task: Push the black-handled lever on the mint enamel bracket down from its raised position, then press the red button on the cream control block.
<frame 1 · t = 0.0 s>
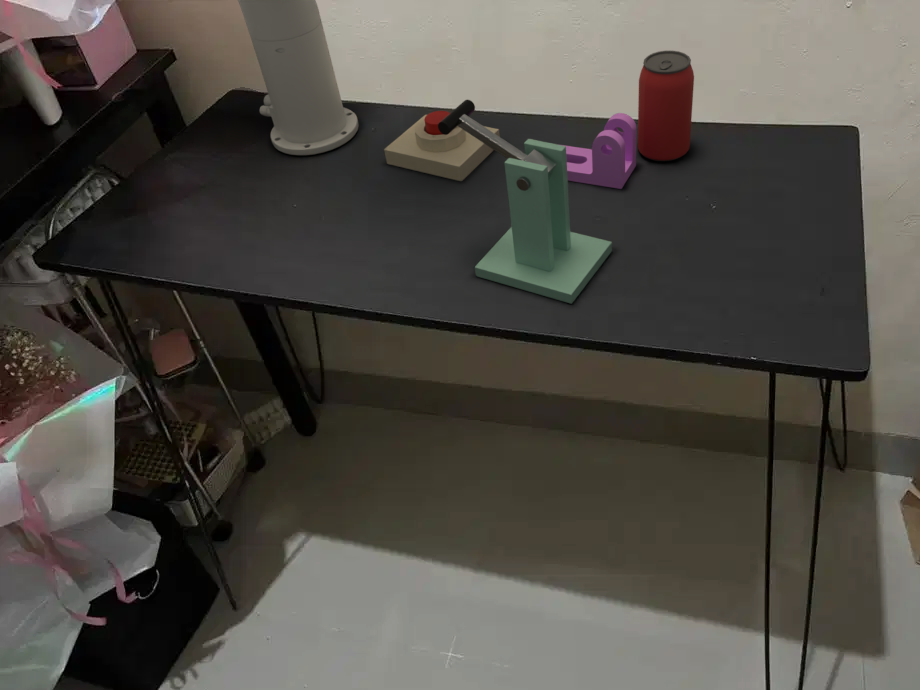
lever: (499, 145, 86), point 14 cm above the table, hinge at 25.0°
bracket: (544, 263, 94), on the table
beer can: (663, 151, 108), on the table
control block: (444, 153, 113), on the table
bracket 2: (580, 170, 107), on the table
button: (438, 123, 110), point 4 cm above the table, slide at 0.1 cm
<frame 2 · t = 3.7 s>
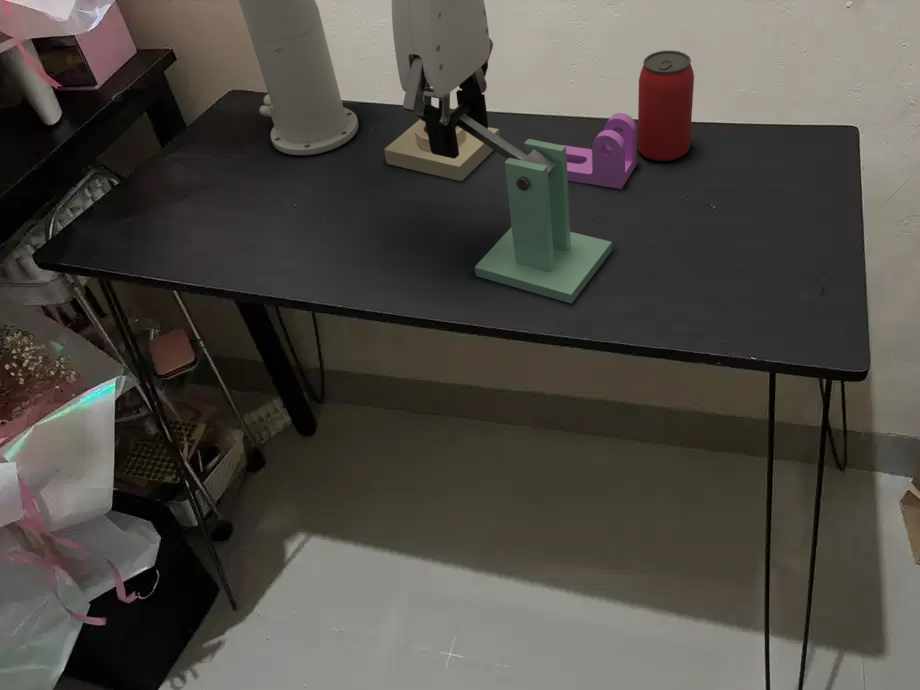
hand: (460, 139, 88), 14 cm above the table, tool pointing down, fingers closed on lever, 5 cm apart
lever: (499, 145, 86), point 14 cm above the table, hinge at 25.0°, touching gripper
everything else where it was.
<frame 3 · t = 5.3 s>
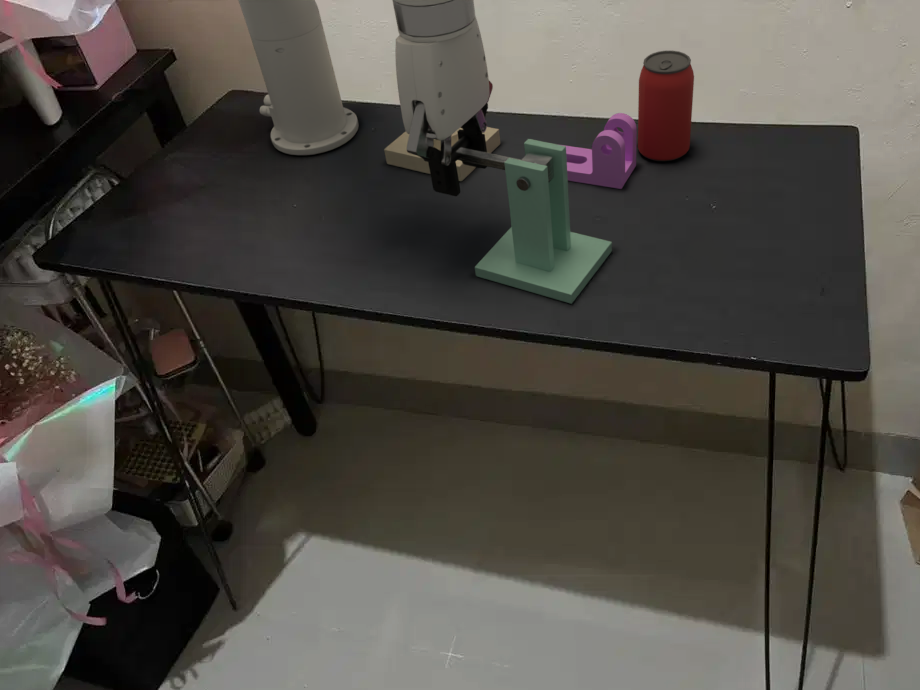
hand: (461, 177, 91), 9 cm above the table, tool pointing down, fingers closed on lever, 5 cm apart
lever: (497, 161, 87), point 12 cm above the table, hinge at -0.6°, touching gripper
everything else where it was.
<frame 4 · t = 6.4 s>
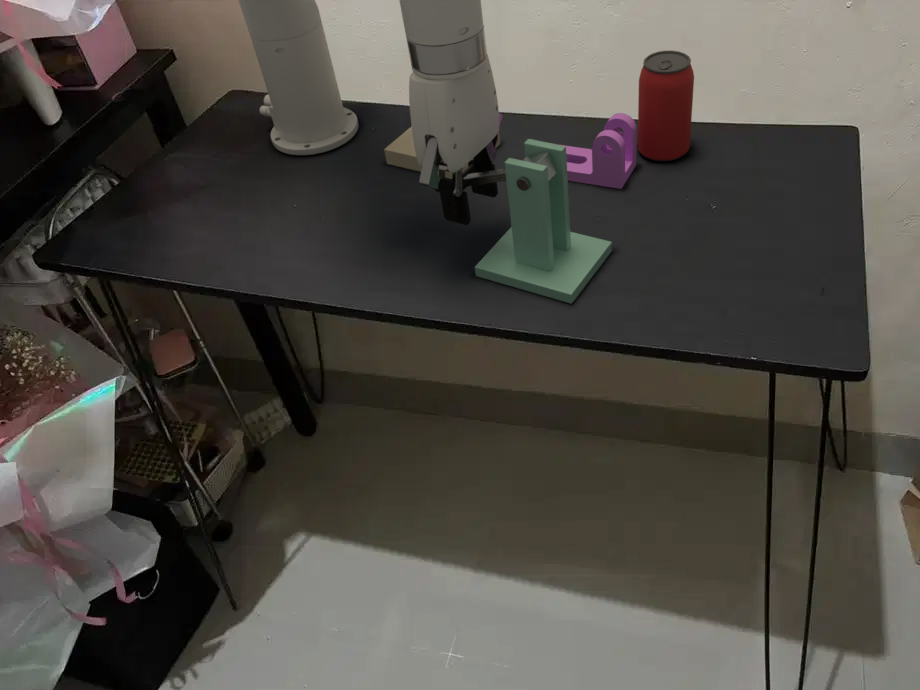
hand: (471, 206, 94), 5 cm above the table, tool pointing down, fingers closed on lever, 5 cm apart
lever: (501, 175, 88), point 10 cm above the table, hinge at -20.1°, touching gripper
everything else where it was.
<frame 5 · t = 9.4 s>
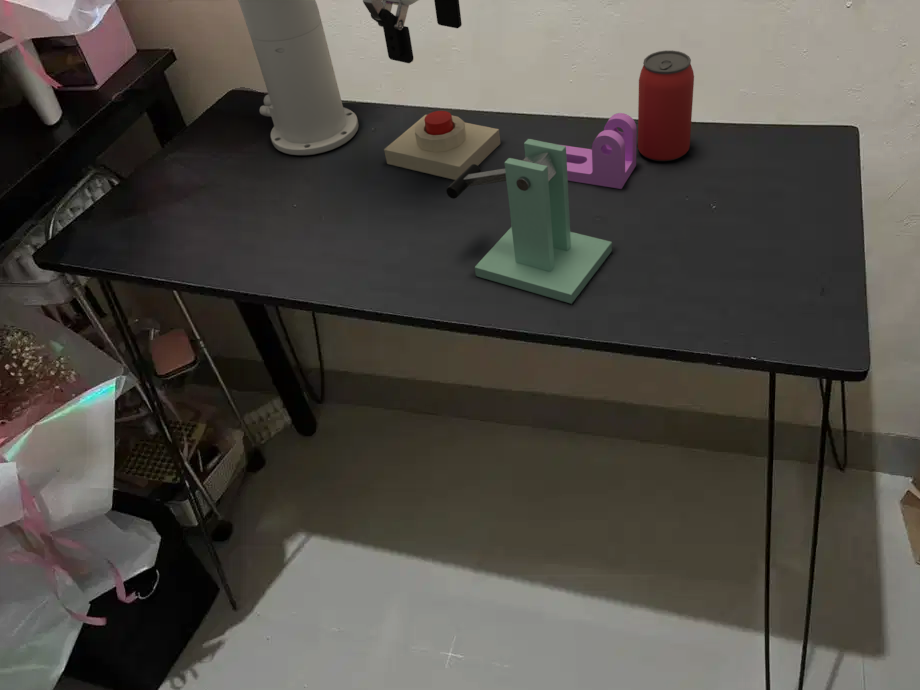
hand: (426, 42, 98), 17 cm above the table, tool pointing down, fingers open, 9 cm apart
lever: (501, 175, 88), point 10 cm above the table, hinge at -20.3°
everything else where it was.
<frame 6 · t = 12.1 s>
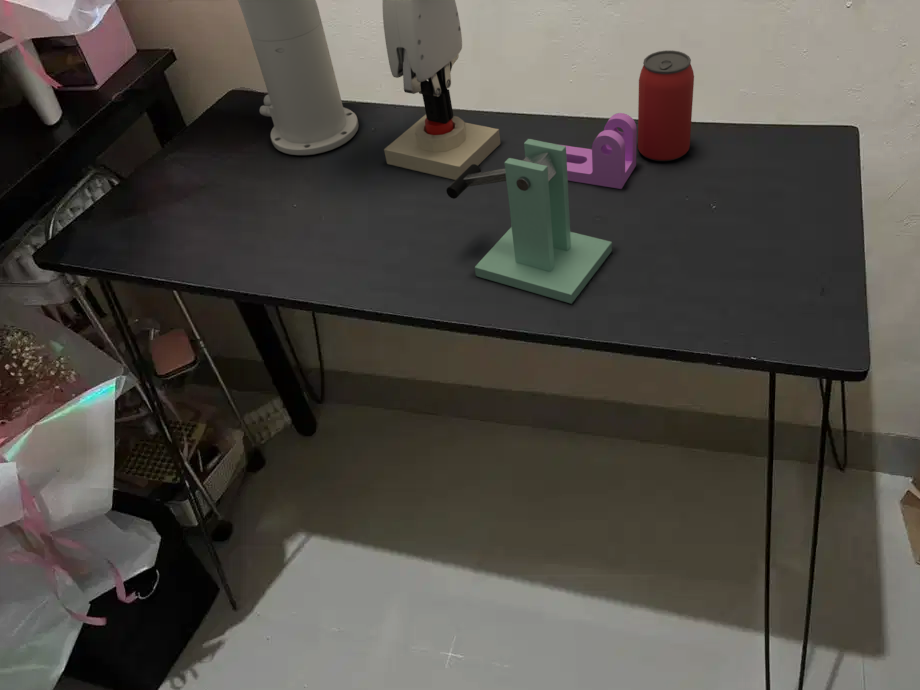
hand: (440, 119, 109), 5 cm above the table, tool pointing down, fingers closed
button: (439, 125, 110), point 4 cm above the table, slide at -0.2 cm, touching gripper
everything else where it was.
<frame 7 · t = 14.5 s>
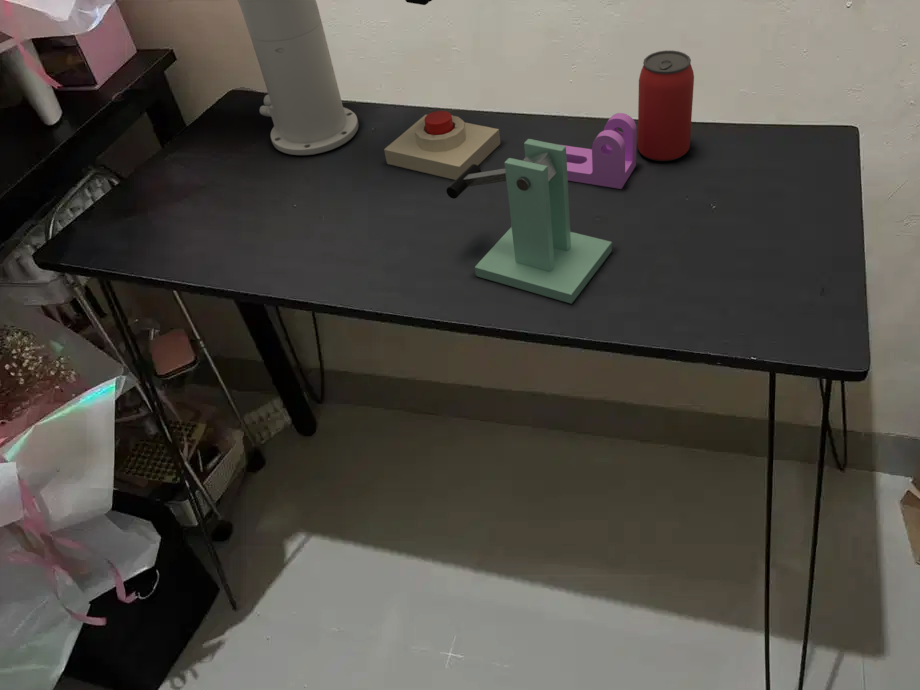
hand: (419, 0, 101), 19 cm above the table, tool pointing down, fingers closed
button: (438, 123, 110), point 4 cm above the table, slide at 0.1 cm
everything else where it was.
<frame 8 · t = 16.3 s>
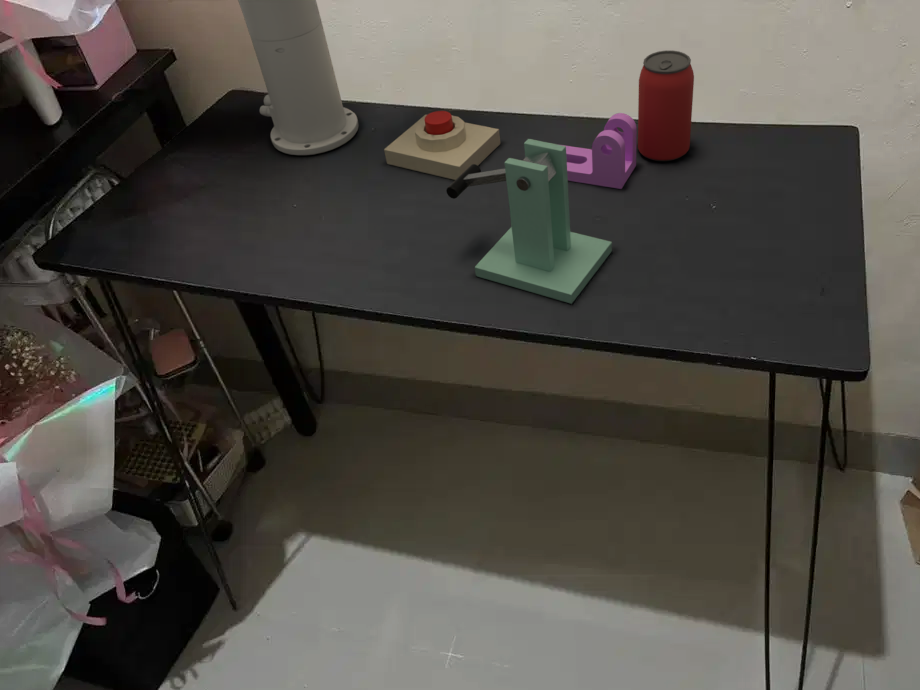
nothing on the table moved.
at the end: lever at -20° (first picture: +25°); button pushed in 1.0 cm at the most during the clip, back to where it started at the end; button slide at 0.1 cm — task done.
